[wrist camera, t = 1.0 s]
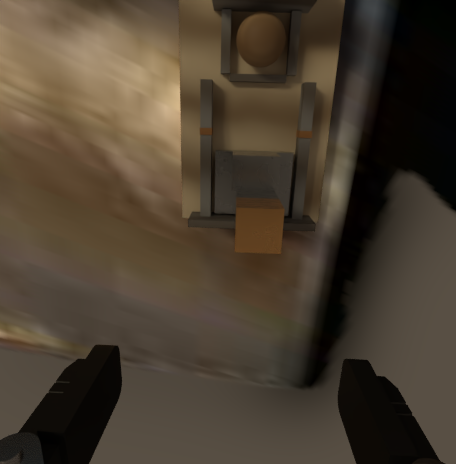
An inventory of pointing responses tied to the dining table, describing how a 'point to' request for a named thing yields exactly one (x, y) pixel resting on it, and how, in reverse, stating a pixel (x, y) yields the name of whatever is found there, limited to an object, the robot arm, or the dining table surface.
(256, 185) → the lever
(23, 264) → the dining table surface
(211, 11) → the base
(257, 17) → the walnut
